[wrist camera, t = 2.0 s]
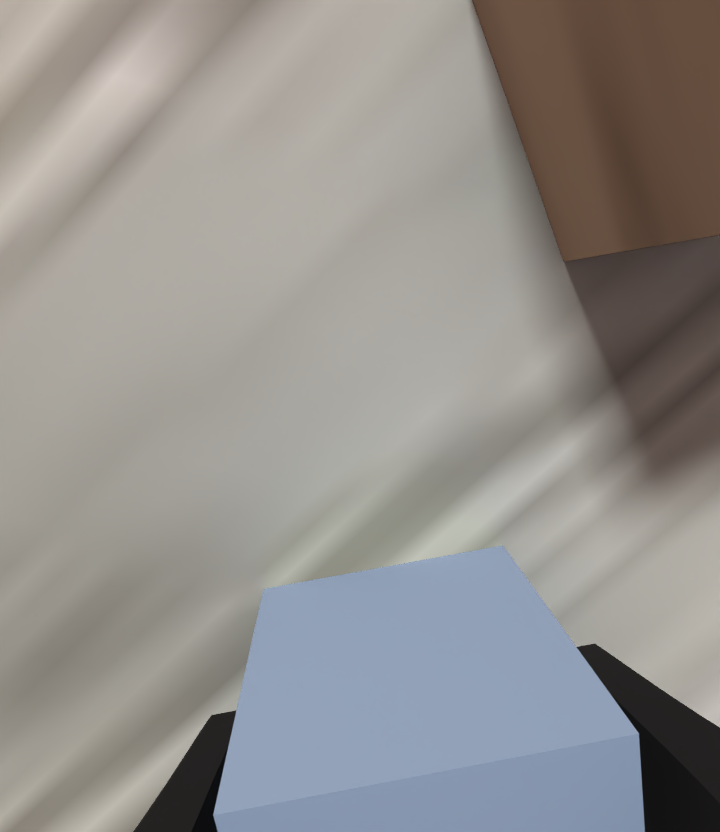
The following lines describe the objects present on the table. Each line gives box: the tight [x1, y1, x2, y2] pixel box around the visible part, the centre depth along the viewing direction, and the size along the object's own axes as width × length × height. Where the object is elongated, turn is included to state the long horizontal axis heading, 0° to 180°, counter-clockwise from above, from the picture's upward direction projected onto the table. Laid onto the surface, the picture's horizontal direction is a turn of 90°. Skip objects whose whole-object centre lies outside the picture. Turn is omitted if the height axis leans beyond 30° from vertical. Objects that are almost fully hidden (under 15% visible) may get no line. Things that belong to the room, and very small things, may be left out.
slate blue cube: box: [213, 546, 645, 832], centre depth 9 cm, size 5×5×5 cm
